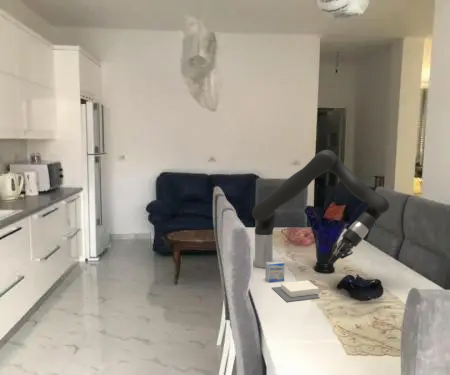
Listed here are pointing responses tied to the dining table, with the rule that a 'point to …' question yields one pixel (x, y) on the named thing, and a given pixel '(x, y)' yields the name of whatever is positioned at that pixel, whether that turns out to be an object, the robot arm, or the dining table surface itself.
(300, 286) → the white and teal block
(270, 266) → the medicine box
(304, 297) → the mat
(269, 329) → the dining table surface
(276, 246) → the dining table surface
